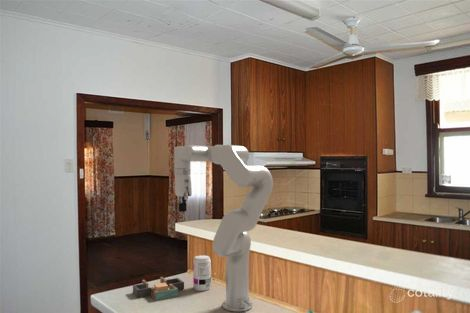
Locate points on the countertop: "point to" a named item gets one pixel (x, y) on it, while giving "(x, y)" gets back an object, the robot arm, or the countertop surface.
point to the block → (161, 287)
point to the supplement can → (202, 273)
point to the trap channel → (144, 291)
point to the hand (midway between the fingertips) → (182, 211)
